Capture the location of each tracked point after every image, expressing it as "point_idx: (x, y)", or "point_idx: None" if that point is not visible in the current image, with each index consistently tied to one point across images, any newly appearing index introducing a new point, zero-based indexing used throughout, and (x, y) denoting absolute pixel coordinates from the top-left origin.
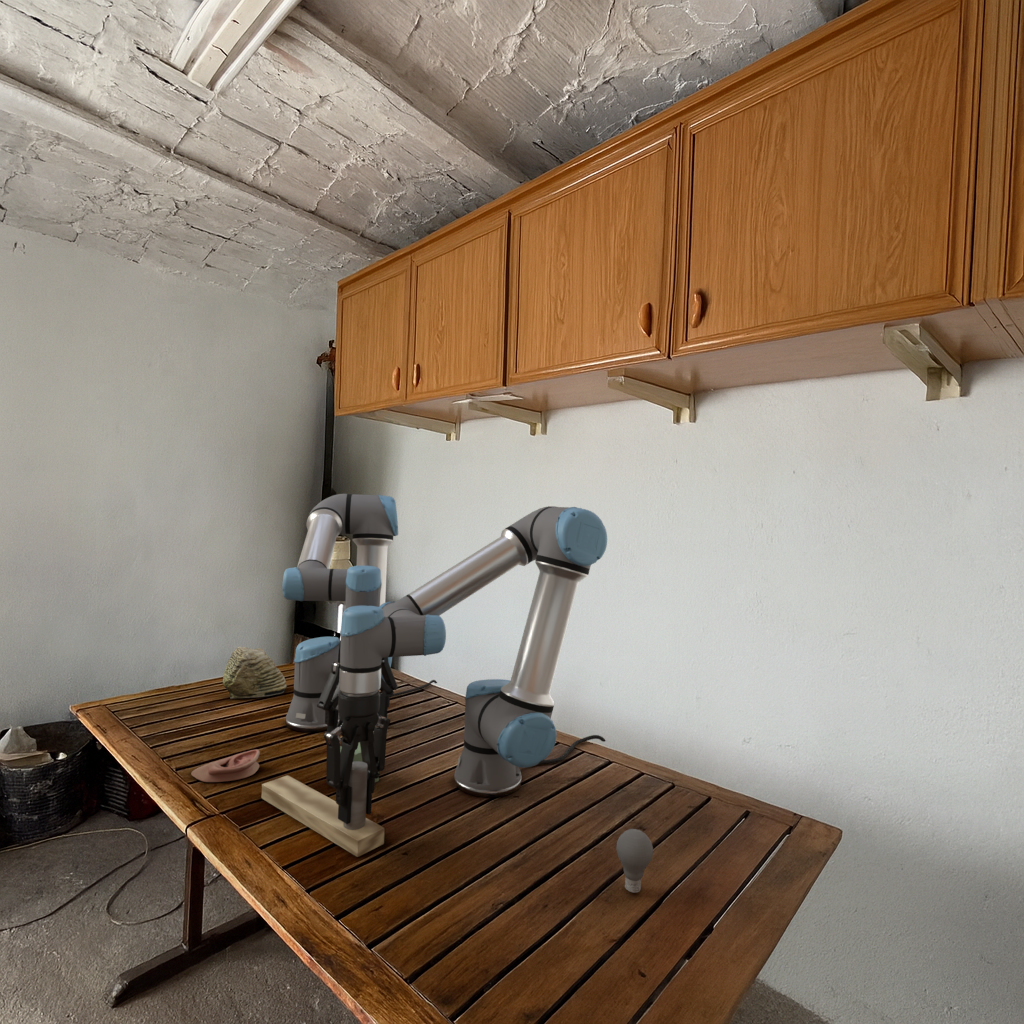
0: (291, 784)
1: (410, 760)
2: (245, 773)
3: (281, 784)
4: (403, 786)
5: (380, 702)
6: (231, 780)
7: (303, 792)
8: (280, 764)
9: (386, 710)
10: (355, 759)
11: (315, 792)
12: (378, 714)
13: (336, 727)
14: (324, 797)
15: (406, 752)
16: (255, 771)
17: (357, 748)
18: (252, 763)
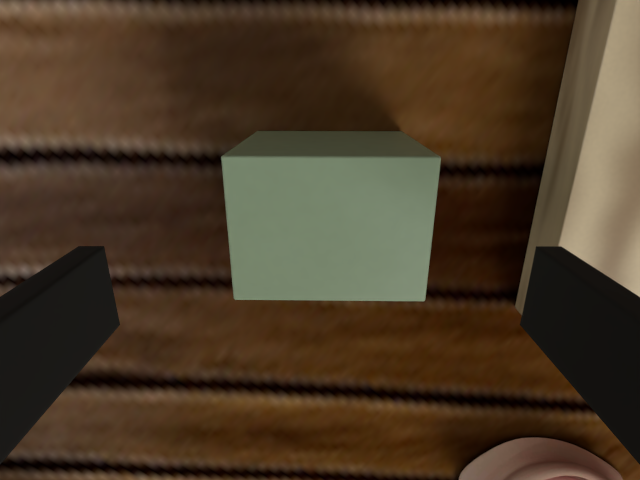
0: (590, 263)
1: (45, 189)
2: (536, 450)
3: None
4: (207, 8)
5: (3, 406)
6: (575, 445)
7: (622, 172)
8: (408, 445)
9: (13, 297)
10: (401, 150)
11: (595, 137)
12: (88, 341)
13: (613, 291)
14: (614, 64)
15: (22, 256)
16: (499, 447)
17: (342, 216)
18: (533, 470)
